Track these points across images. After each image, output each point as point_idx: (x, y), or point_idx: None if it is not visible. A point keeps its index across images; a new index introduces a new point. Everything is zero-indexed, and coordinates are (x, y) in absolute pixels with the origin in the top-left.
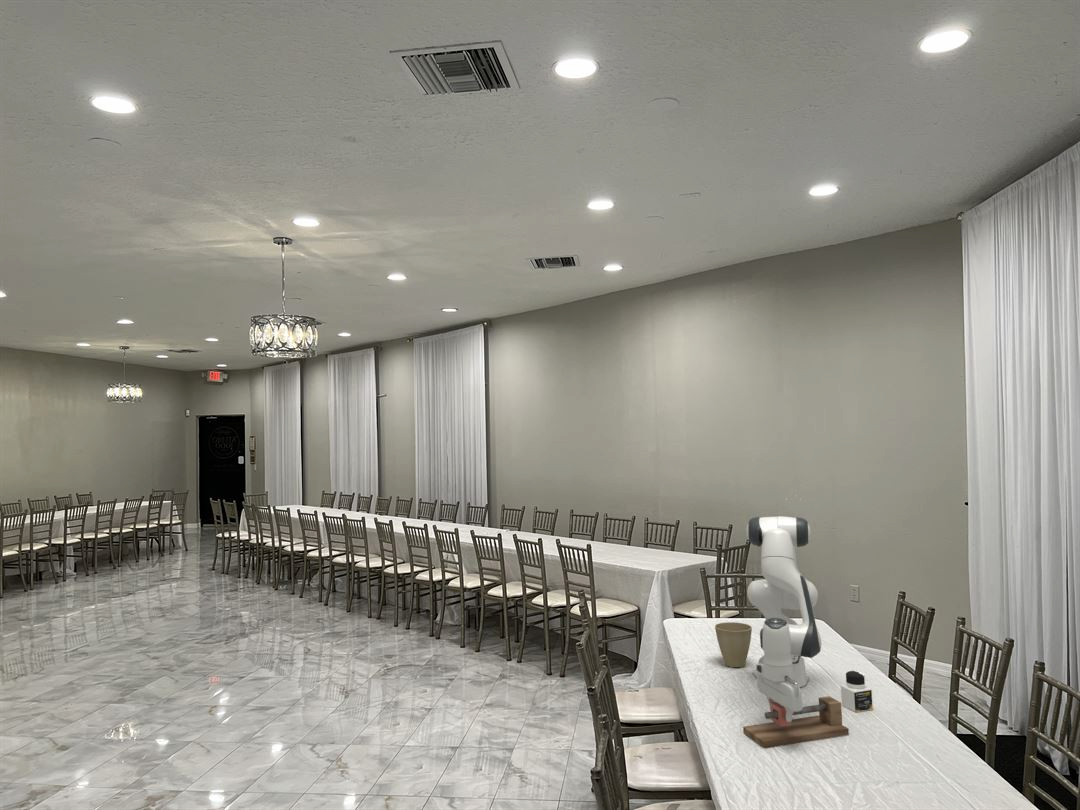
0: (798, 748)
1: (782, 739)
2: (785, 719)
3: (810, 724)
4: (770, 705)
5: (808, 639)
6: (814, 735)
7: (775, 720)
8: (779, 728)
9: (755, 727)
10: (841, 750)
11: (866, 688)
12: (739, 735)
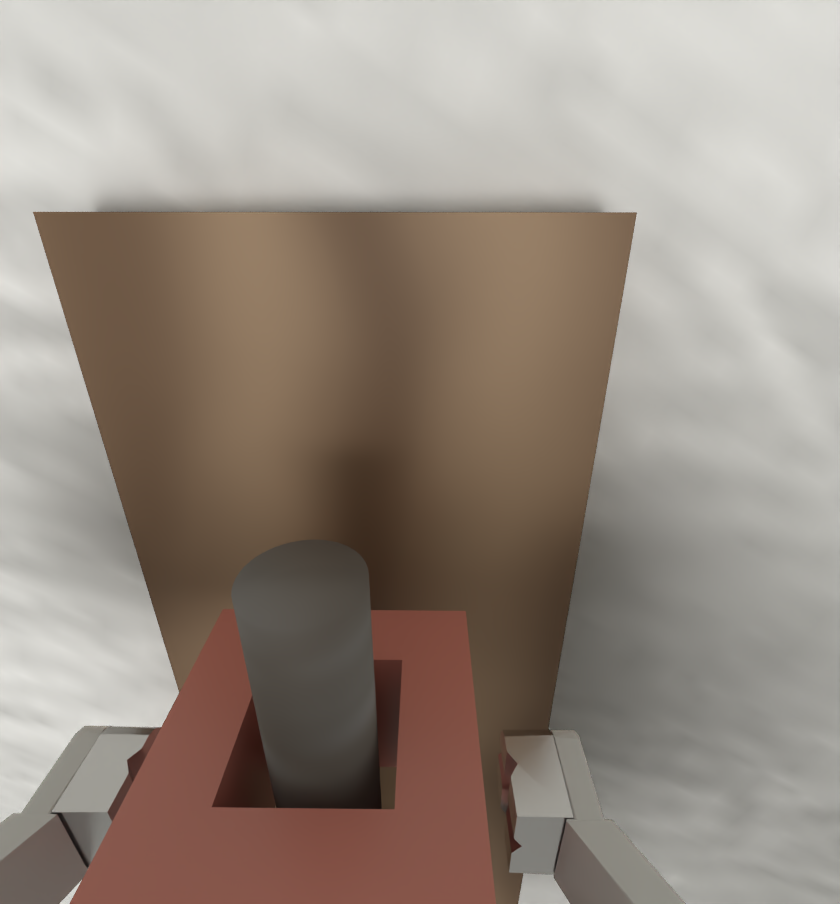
0: (79, 549)
1: (125, 491)
2: (107, 741)
3: None
4: (486, 839)
5: None
6: None
7: None
8: (394, 600)
9: (525, 374)
10: (33, 763)
11: None
12: (563, 106)
